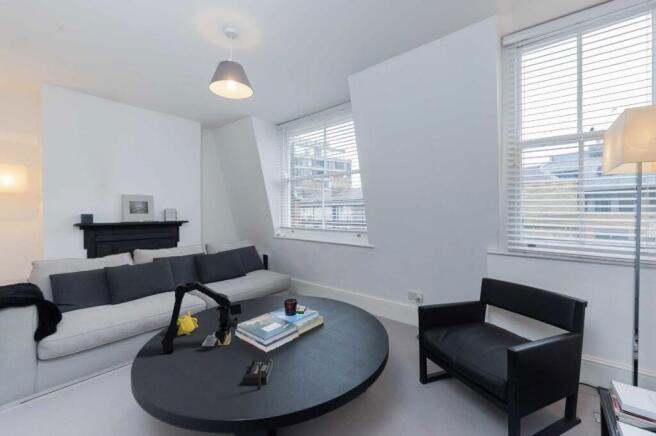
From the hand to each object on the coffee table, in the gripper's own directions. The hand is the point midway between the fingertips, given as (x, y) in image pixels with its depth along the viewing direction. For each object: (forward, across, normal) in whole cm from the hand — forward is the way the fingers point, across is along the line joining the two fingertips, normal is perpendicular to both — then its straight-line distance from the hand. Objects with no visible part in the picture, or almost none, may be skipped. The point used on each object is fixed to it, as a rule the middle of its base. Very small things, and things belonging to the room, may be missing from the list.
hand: (224, 340), depth 176 cm
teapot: (+2, +17, +30) cm, 35 cm away
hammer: (+1, +5, +9) cm, 10 cm away
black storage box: (+2, -38, -27) cm, 46 cm away
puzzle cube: (+2, +27, -45) cm, 53 cm away
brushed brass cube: (+1, 0, 0) cm, 1 cm away
